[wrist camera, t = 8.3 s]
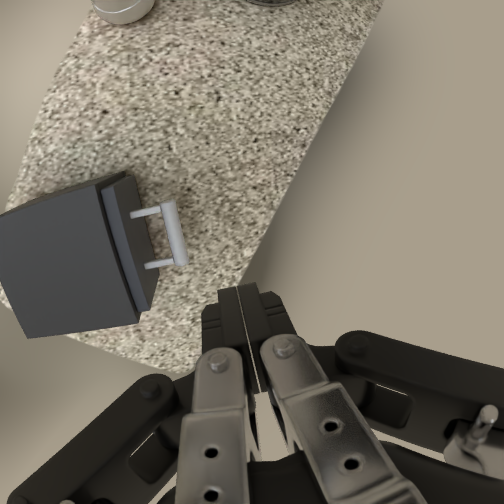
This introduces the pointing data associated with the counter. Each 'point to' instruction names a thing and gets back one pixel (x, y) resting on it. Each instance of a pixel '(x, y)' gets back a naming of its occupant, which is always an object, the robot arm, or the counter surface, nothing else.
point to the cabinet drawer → (140, 238)
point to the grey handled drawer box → (64, 263)
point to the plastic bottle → (122, 10)
